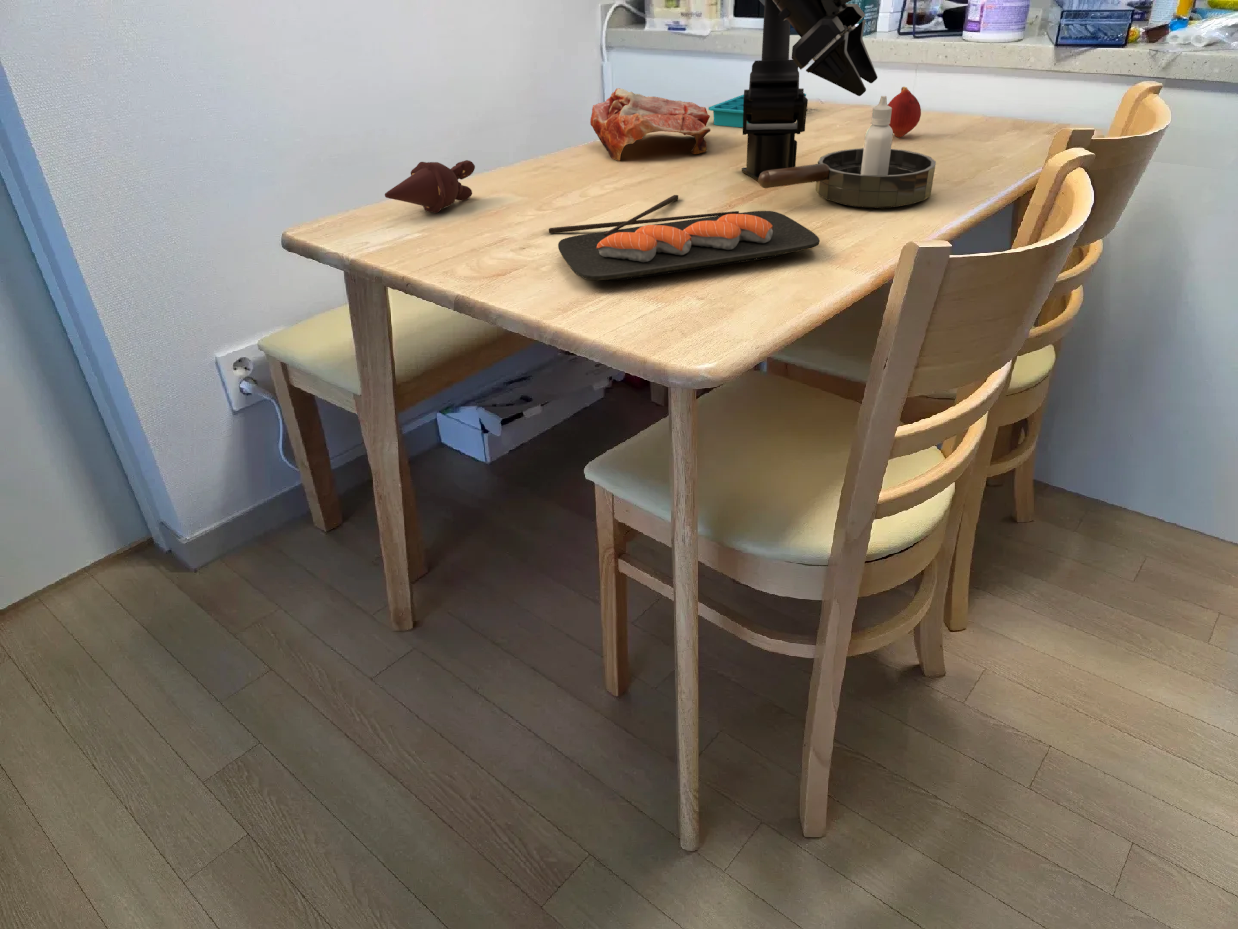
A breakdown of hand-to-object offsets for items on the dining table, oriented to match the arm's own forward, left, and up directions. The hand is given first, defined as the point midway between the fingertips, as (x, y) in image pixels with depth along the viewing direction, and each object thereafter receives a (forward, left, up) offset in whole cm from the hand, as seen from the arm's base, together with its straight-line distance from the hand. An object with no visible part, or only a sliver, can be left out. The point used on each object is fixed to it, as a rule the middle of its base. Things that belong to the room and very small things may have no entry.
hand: (869, 86), depth 108 cm
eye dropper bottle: (+1, -2, -13) cm, 13 cm away
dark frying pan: (+1, -2, -14) cm, 14 cm away
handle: (-11, -2, -11) cm, 16 cm away
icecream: (-57, +17, -14) cm, 61 cm away
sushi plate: (-31, -7, -14) cm, 35 cm away
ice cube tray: (+9, +53, -14) cm, 55 cm away
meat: (-17, +39, -14) cm, 45 cm away
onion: (+23, +26, -14) cm, 37 cm away
